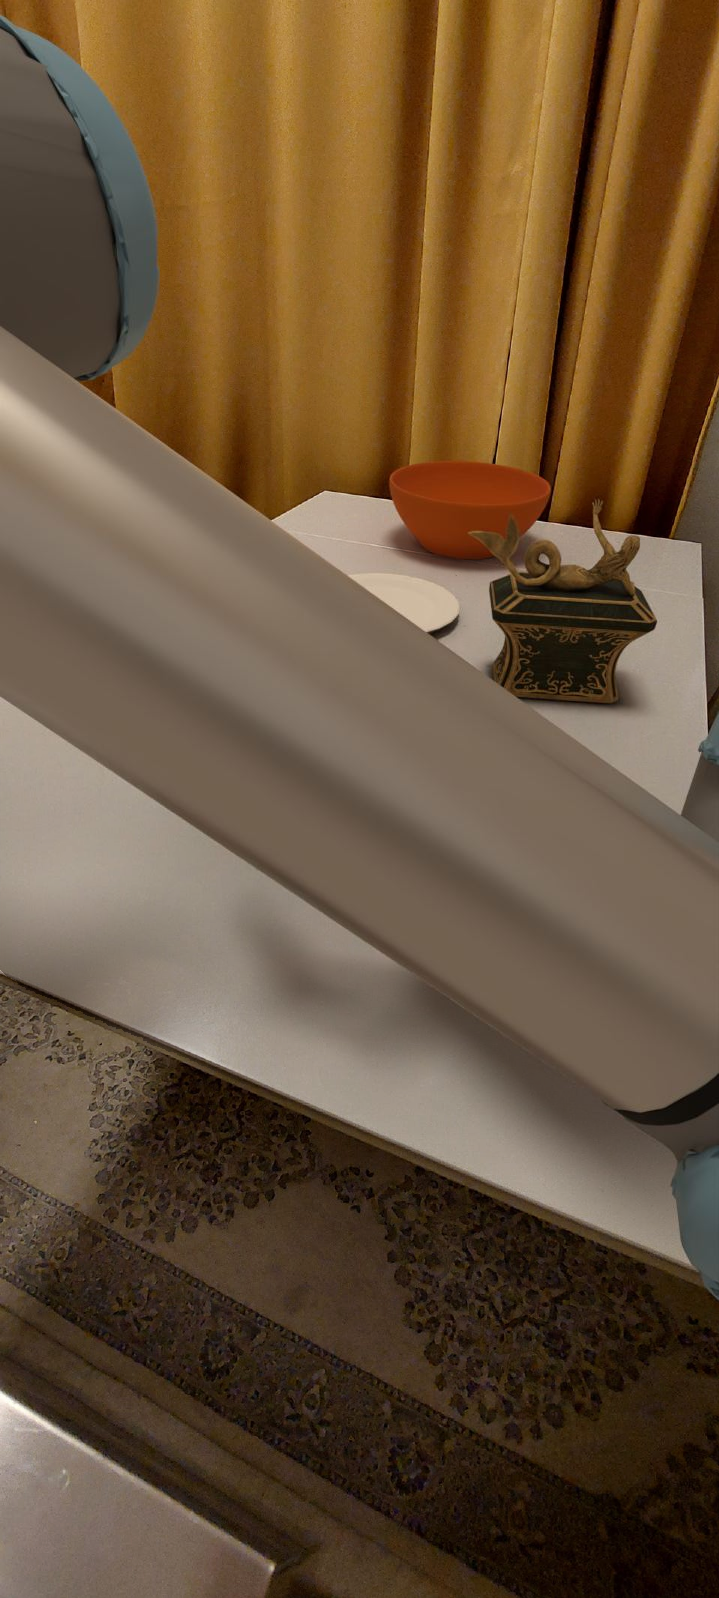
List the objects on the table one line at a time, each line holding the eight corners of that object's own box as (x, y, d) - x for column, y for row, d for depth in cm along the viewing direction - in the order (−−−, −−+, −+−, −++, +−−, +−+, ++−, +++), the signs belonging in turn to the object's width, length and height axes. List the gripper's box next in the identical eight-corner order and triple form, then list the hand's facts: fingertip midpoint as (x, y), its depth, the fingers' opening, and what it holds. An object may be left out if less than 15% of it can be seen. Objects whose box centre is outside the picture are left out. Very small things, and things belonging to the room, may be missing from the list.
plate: (439, 658, 92) (440, 645, 90) (279, 631, 96) (278, 618, 95) (472, 595, 107) (473, 584, 106) (333, 575, 112) (333, 563, 111)
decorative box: (618, 668, 91) (663, 498, 79) (634, 709, 83) (686, 527, 71) (451, 657, 92) (470, 487, 80) (451, 696, 84) (473, 515, 72)
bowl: (530, 524, 134) (540, 464, 128) (549, 576, 114) (562, 508, 108) (389, 517, 135) (392, 457, 129) (383, 567, 115) (386, 499, 109)
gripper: (378, 1033, 38) (172, 823, 51) (659, 836, 51) (438, 709, 64) (385, 930, 34) (157, 728, 46) (691, 742, 46) (446, 625, 59)
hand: (319, 716), depth 55 cm, fingers open, 13 cm apart
